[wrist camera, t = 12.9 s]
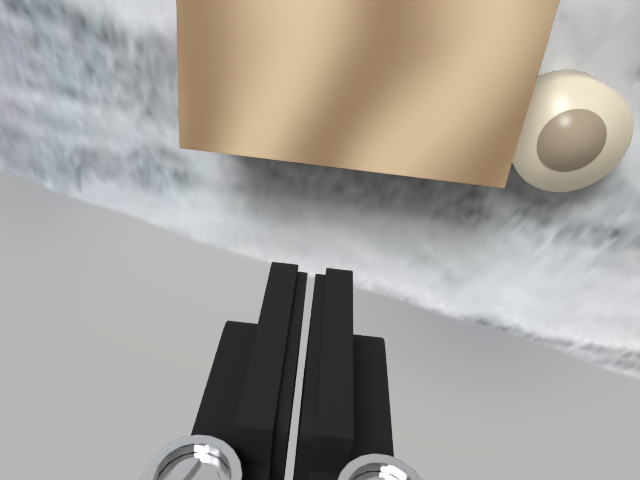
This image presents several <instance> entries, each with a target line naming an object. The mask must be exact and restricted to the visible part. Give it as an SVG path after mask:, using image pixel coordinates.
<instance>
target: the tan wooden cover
mask: <svg viewBox="0 0 640 480" xmlns="http://www.w3.org/2000/svg"><path fill="white" fill-rule="evenodd" d="M559 1H560V0H176V3H177V50H178V96H179V143H180V148H184V149H192V150H200V151H208V152H216V153H224V154H232V155H240V156H249V157H257V158H265V159H273V160H281V161H289V162H297V163H305V164H313V165H321V166H329V167H337V168H345V169H353V170H361V171H370V172H378V173H386V174H394V175H402V176H410V177H418V178H426V179H434V180H442V181H450V182H458V183H466V184H474V185H483V186H491V187H499V188H505V185H506V182H507V178H508V175H509V171H510V168H511V165H512V161H513V158H514V154H515V151H516V148H517V144H518V141H519V137H520V134H521V131H522V127H523V124H524V120H525V117H526V114H527V110H528V107H529V103H530V100H531V96H532V93H533V90H534V86H535V83H536V79H537V76H538V73H539V69H540V66H541V62H542V59H543V56H544V52H545V49H546V45H547V42H548V39H549V35H550V32H551V28H552V25H553V22H554V18H555V15H556V11H557V8H558V5H559Z"/></svg>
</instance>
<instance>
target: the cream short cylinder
mask: <svg viewBox="0 0 640 480" xmlns="http://www.w3.org/2000/svg"><path fill="white" fill-rule="evenodd" d="M632 133H633V118H632V113H631V111H630V108H629V106H628V105H627V103H626V101H625V100H624V99H623V98H622V97H621V96H620V95H619V94H618V93H617V92H615V91H614V90H613V89H611V88H610V87H608V86H607V85H605V84H604V83H602V82H601V81H599V80H598V79H596V78H595V77H593V76H591V75H590V74H587V73H585V72H582V71H577V70H558V71H553V72H549V73H546V74H543V75H541V76H539V77H537V79H536V83H535V86H534V90H533V93H532V96H531V100H530V103H529V107H528V110H527V114H526V117H525V120H524V124H523V127H522V131H521V134H520V137H519V141H518V144H517V148H516V151H515V154H514V158H513V161H512V164H513V165H514V167H515V169H516V170H517V172H518V173H519V175H520V176H521V177H522V178H523V179H524V180H525V181H526V182H527V183H529V184H530V185H532V186H534V187H536V188H538V189H541V190H544V191H549V192H568V191H574V190H578V189H581V188H584V187H587V186H589V185H591V184H593V183H595V182H597V181H598V180H600V179H602V178H603V177H604V176H606V175H607V174H608V173H609V172H610V171H612V170H613V169H614V168H615V167H616V165H617V164H618V163H619V162H620V161H621V159H622V158H623V156H624V155H625V153H626V151H627V149H628V147H629V144H630V142H631V138H632Z"/></svg>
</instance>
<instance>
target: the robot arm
mask: <svg viewBox="0 0 640 480" xmlns="http://www.w3.org/2000/svg"><path fill="white" fill-rule="evenodd" d="M306 282H307V273H304V272H298V265H295V264H286V263H277V262H272V265H271V269H270V273H269V278H268V282H267V287H266V291H265V295H264V300H263V304H262V308H261V313H260V317H259V322H258V324H252V323H243V322H235V321H227V322H226V324H225V327H224V329H223V333H222V336H221V339H220V342H219V346H218V349H217V352H216V355H215V359H214V362H213V365H212V369H211V372H210V375H209V378H208V381H207V385H206V388H205V391H204V395H203V398H202V401H201V405H200V408H199V411H198V414H197V417H196V421H195V424H194V427H193V430H192V434H191V436H186V437H182V438H179V439H177V440H175V441H173V442H170V443H168V444H167V445H166V446H165V447H163V448H162V449H161V450H160V451H158V452H157V453H156V454H155V455H154V457H153V458H152V460H151V461H150V462H149V464H148V465H147V467H146V469H145V470H144V472H143V474H142V476H141V478H140V480H284V476H285V468H286V459H287V451H288V442H289V434H290V425H291V417H292V409H293V399H294V391H295V383H296V375H297V366H298V365H297V364H298V356H299V347H300V338H301V329H302V318H303V310H304V300H305V291H306ZM293 480H422V479H421V478H420V476H419V475H418V474H417V473H416V471H415V470H414V469H413V468H411V467H410V466H408V465H407V464H406V463H404V462H403V461H401V460H399V459H396V458H394V453H393V440H392V428H391V415H390V403H389V390H388V377H387V364H386V353H385V342H384V339H383V338H380V337H371V336H362V335H353V272H352V271H349V270H340V269H331V268H327V269H326V275H322V274H316V276H315V285H314V293H313V301H312V309H311V318H310V327H309V335H308V343H307V352H306V360H305V368H304V378H303V387H302V397H301V407H300V417H299V427H298V436H297V446H296V456H295V466H294V476H293Z"/></svg>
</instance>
